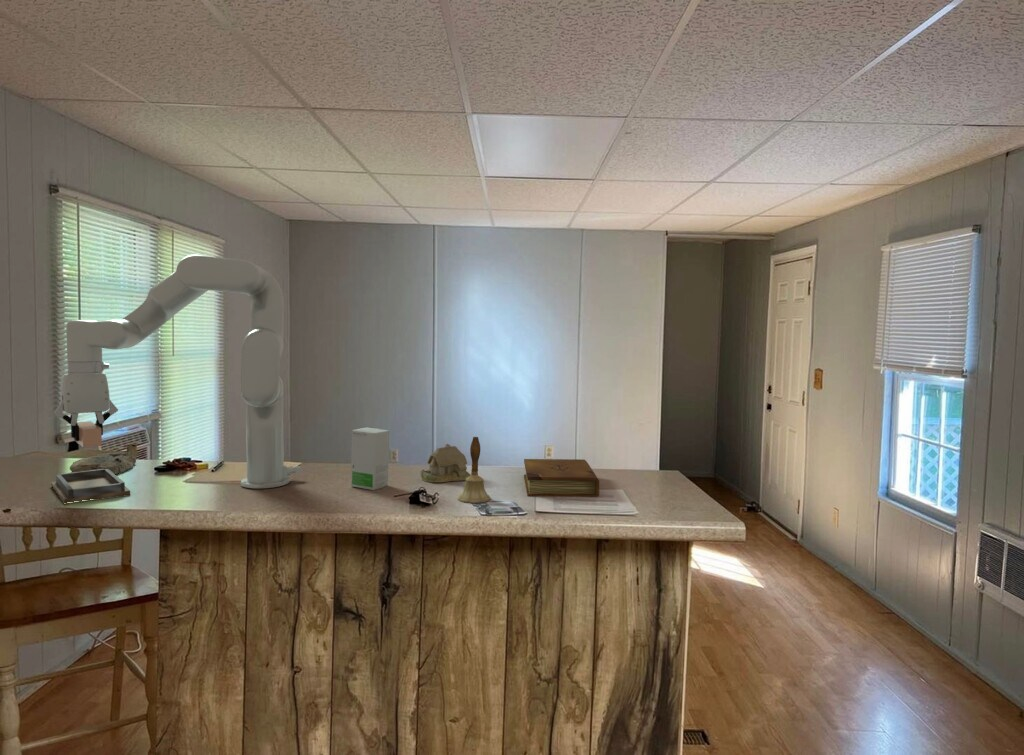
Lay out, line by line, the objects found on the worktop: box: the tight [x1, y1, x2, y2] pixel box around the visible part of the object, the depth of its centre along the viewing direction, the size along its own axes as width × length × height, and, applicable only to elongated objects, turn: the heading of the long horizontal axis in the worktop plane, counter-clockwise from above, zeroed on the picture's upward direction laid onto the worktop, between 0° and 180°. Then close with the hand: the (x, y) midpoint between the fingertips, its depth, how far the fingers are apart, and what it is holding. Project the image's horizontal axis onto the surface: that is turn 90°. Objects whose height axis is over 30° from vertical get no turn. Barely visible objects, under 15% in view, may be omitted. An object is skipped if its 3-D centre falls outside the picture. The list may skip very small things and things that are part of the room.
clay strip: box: [75, 421, 103, 448], centre depth 171 cm, size 4×14×4 cm, turn 41°
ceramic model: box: [420, 443, 471, 483], centre depth 190 cm, size 14×11×10 cm
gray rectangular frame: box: [50, 469, 131, 504], centre depth 172 cm, size 14×22×3 cm, turn 41°
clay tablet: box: [69, 451, 137, 475], centre depth 197 cm, size 14×5×20 cm
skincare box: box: [350, 426, 390, 491], centre depth 180 cm, size 8×7×16 cm
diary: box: [523, 458, 600, 498], centre depth 184 cm, size 23×19×6 cm
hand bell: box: [457, 436, 491, 504], centre depth 168 cm, size 8×8×16 cm
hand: (87, 438), depth 171 cm, fingers closed on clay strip, 4 cm apart
